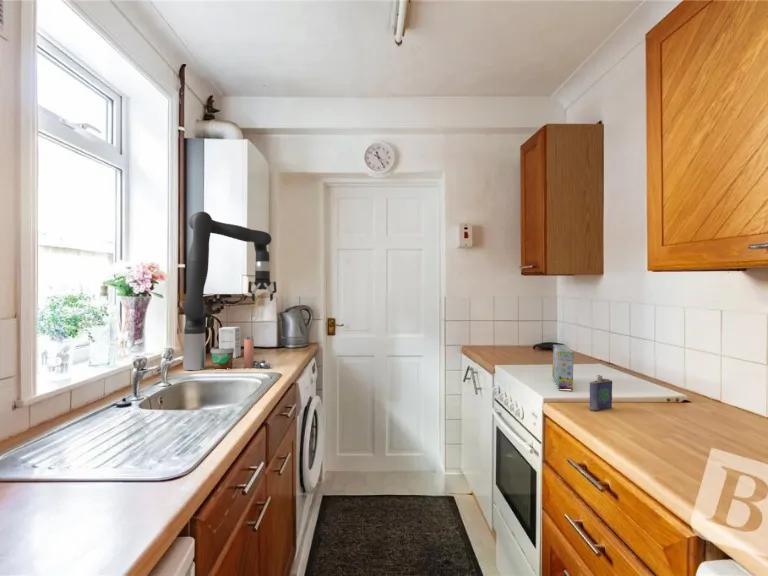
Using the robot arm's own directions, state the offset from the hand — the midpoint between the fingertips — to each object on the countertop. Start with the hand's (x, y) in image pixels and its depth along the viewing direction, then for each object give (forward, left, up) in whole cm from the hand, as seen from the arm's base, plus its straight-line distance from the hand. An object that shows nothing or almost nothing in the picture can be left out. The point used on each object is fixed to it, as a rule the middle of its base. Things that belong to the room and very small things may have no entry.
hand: (262, 301), depth 217 cm
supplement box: (-28, +3, -32) cm, 43 cm away
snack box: (+144, +19, -32) cm, 149 cm away
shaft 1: (+5, -8, -32) cm, 34 cm away
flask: (+158, -11, -32) cm, 162 cm away
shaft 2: (+13, -13, -32) cm, 37 cm away
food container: (-4, -24, -32) cm, 40 cm away
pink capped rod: (+6, -15, -32) cm, 36 cm away
